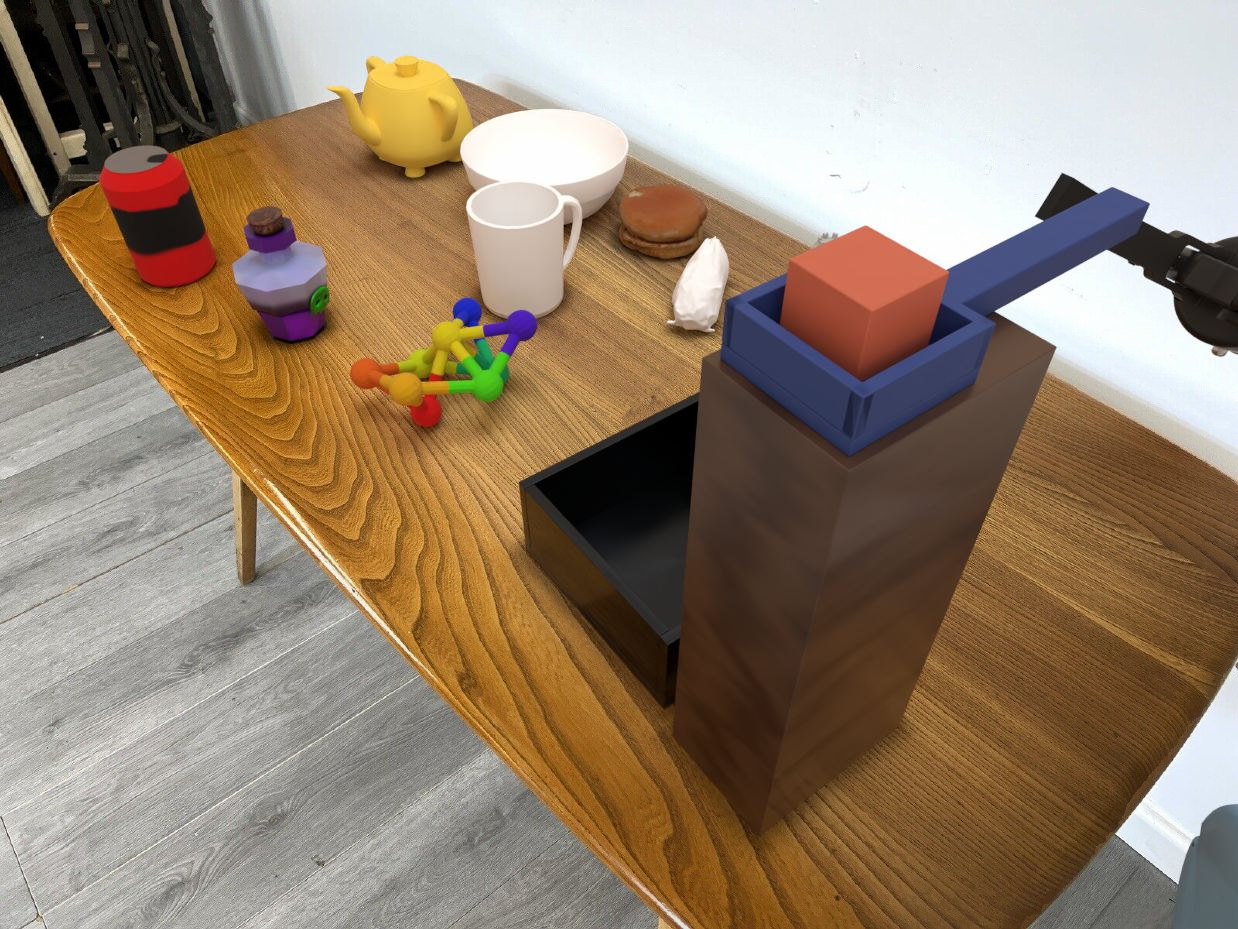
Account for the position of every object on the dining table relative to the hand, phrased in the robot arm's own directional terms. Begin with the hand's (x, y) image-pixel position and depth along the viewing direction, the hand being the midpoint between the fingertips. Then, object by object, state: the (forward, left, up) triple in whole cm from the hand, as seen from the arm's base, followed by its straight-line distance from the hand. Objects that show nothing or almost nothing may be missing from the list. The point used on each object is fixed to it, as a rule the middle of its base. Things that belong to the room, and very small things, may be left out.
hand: (1163, 247), depth 49 cm
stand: (0, +23, -26) cm, 35 cm away
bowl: (+64, -1, -27) cm, 69 cm away
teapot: (+83, +7, -27) cm, 87 cm away
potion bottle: (+59, +31, -27) cm, 72 cm away
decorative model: (+41, +24, -27) cm, 54 cm away
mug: (+50, +10, -27) cm, 57 cm away
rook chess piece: (+31, -11, -27) cm, 42 cm away
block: (0, +25, +4) cm, 25 cm away
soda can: (+76, +37, -27) cm, 89 cm away
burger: (+51, -7, -27) cm, 58 cm away
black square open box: (+14, +20, -26) cm, 36 cm away
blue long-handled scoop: (0, +18, +4) cm, 18 cm away
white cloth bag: (+38, -2, -27) cm, 46 cm away
